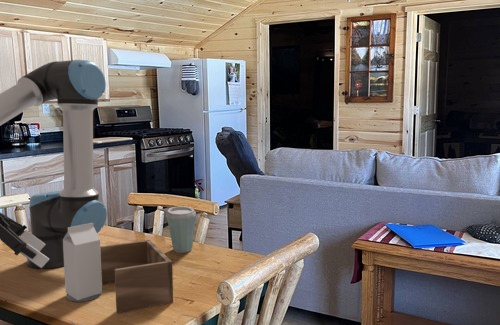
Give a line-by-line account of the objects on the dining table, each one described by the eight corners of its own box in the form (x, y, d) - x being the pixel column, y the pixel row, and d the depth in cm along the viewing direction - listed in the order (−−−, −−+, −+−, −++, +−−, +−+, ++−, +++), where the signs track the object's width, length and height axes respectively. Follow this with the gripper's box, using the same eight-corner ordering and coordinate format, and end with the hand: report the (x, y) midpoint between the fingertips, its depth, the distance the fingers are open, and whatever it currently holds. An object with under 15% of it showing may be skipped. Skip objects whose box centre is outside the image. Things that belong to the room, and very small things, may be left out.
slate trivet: (64, 292, 131) (64, 290, 131) (98, 286, 135) (98, 284, 135) (68, 304, 123) (68, 302, 123) (104, 298, 127) (104, 295, 127)
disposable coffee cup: (202, 251, 167) (201, 209, 165) (173, 257, 161) (172, 213, 159) (189, 244, 176) (188, 204, 174) (161, 248, 170) (160, 207, 168)
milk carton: (102, 293, 129) (99, 225, 126) (77, 301, 124) (73, 230, 121) (90, 286, 134) (87, 220, 131) (65, 293, 129) (61, 225, 126)
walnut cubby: (101, 282, 138) (100, 246, 136) (150, 274, 144) (149, 239, 143) (117, 313, 118) (115, 270, 116) (173, 302, 124) (172, 261, 123)
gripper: (-36, 206, 125) (31, 253, 134) (-45, 229, 103) (35, 283, 111) (-14, 185, 127) (50, 232, 135) (-19, 202, 104) (58, 258, 113)
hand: (43, 255), depth 123 cm, fingers open, 13 cm apart
